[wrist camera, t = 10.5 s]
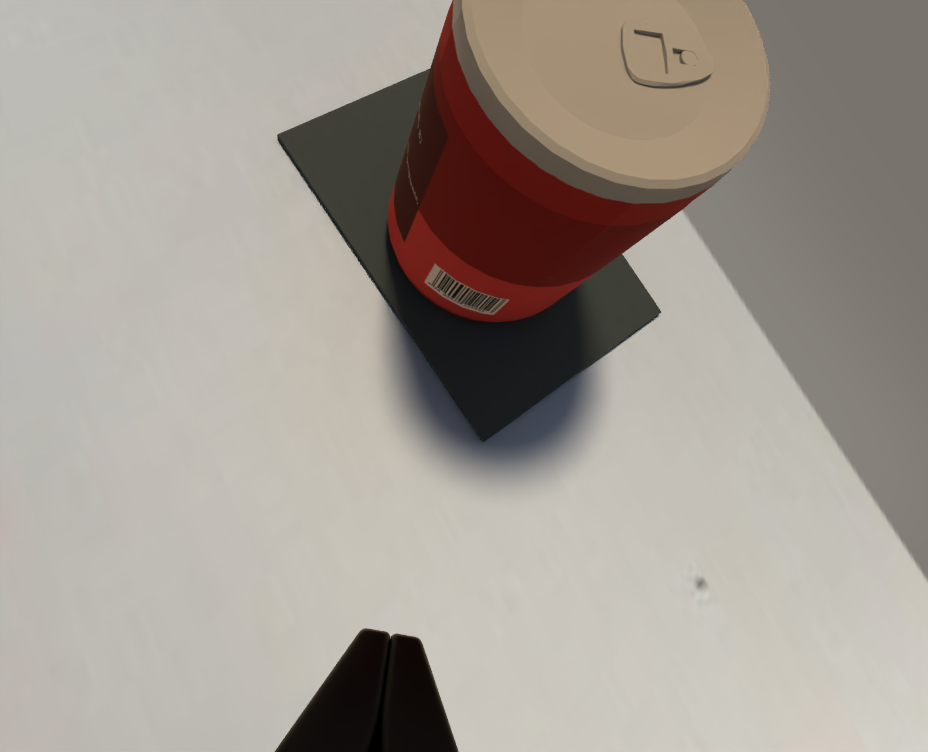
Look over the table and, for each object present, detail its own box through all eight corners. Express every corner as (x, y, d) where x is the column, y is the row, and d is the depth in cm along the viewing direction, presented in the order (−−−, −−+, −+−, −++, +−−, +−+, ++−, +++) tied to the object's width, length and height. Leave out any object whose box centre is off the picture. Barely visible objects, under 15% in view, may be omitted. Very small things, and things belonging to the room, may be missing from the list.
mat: (482, 442, 22) (484, 441, 22) (277, 137, 22) (277, 134, 22) (659, 313, 25) (661, 311, 25) (479, 49, 26) (481, 46, 25)
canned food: (596, 303, 24) (820, 160, 14) (419, 352, 22) (531, 221, 11) (536, 139, 25) (705, -112, 15) (358, 167, 23) (412, -111, 12)
